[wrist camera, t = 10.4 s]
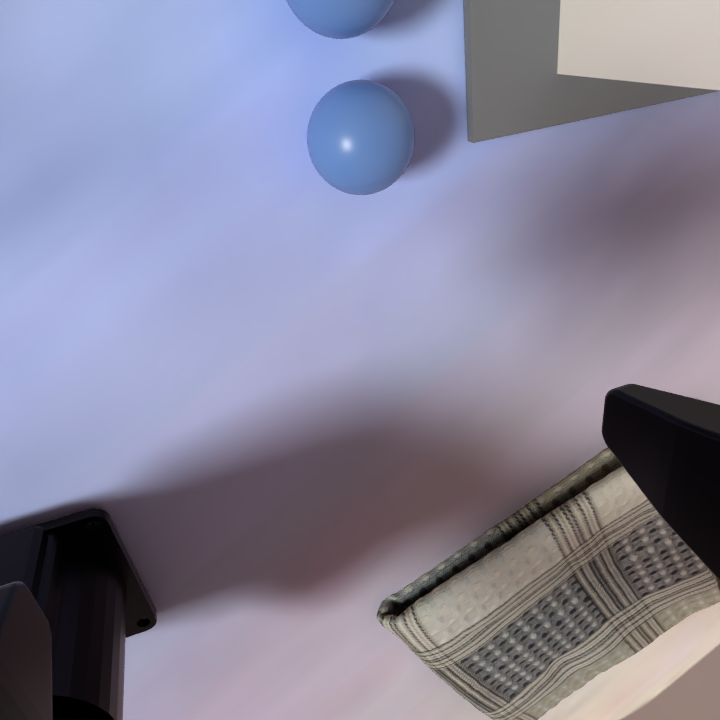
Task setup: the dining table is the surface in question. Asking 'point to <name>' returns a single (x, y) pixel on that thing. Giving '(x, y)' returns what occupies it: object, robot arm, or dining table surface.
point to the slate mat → (536, 73)
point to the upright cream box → (642, 41)
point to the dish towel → (552, 595)
